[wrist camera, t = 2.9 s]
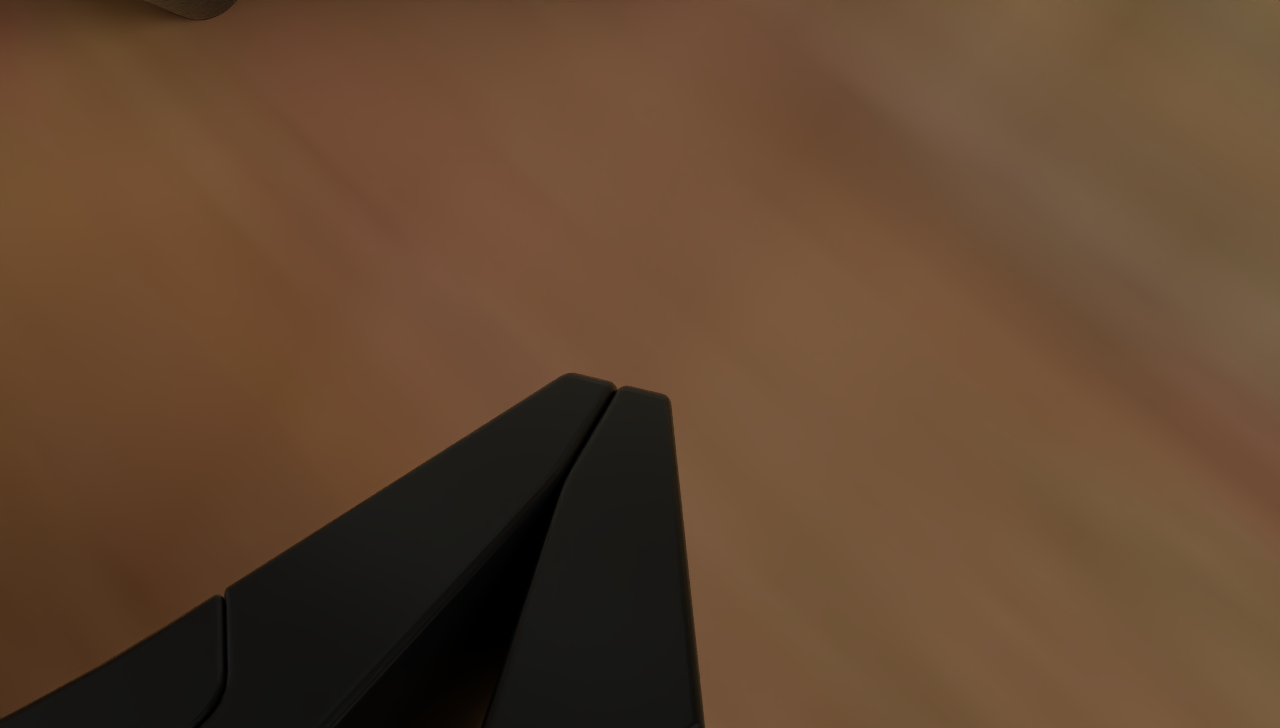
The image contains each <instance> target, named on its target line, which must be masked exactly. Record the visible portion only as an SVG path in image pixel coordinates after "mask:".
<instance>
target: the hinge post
mask: <svg viewBox="0 0 1280 728" xmlns="http://www.w3.org/2000/svg"><path fill="white" fill-rule="evenodd" d="M144 1H146V2H149V3H151V4H154V5H156V6H159V7H161V8H163V9H166V10H168V11H171V12H173V13H175V14H178V15H180V16H183V17H185V18H189V19H195V20H202V19H208V18H212V17H215V16H217V15H219V14H221V13H223V12H224V11H225V10H227V9H228V8H229V7H230V6H232V5H233V4H234V3H235V1H236V0H144Z"/></svg>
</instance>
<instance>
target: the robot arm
mask: <svg viewBox="0 0 1280 728" xmlns="http://www.w3.org/2000/svg"><path fill="white" fill-rule="evenodd" d="M0 728H705V722H704V713H703V703H702V694H701V684H700V675H699V665H698V656H697V646H696V637H695V627H694V618H693V608H692V598H691V589H690V579H689V570H688V560H687V551H686V541H685V532H684V522H683V513H682V503H681V494H680V484H679V475H678V465H677V455H676V446H675V436H674V427H673V417H672V408H671V401H670V399H669V398H668V397H667V396H666V395H664V394H661V393H657V392H653V391H648V390H644V389H640V388H636V387H632V386H623V387H621V388H619V389H618V390H617V387H616V386H615V385H614V384H613V383H612V382H610V381H606V380H602V379H598V378H594V377H590V376H585V375H581V374H577V373H568V374H564V375H562V376H560V377H559V378H557V379H556V380H554V381H552V382H551V383H549V384H548V385H546V386H545V387H543V388H541V389H540V390H538V391H537V392H535V393H533V394H532V395H530V396H529V397H527V398H526V399H524V400H522V401H521V402H519V403H518V404H516V405H515V406H513V407H511V408H510V409H508V410H507V411H505V412H503V413H502V414H500V415H499V416H497V417H496V418H494V419H492V420H491V421H489V422H488V423H486V424H485V425H483V426H481V427H480V428H478V429H477V430H475V431H474V432H472V433H470V434H469V435H467V436H466V437H464V438H462V439H461V440H459V441H458V442H456V443H455V444H453V445H451V446H450V447H448V448H447V449H445V450H444V451H442V452H440V453H439V454H437V455H436V456H434V457H432V458H431V459H429V460H428V461H426V462H425V463H423V464H421V465H420V466H418V467H417V468H415V469H414V470H412V471H410V472H409V473H407V474H406V475H404V476H403V477H401V478H399V479H398V480H396V481H395V482H393V483H391V484H390V485H388V486H387V487H385V488H384V489H382V490H380V491H379V492H377V493H376V494H374V495H373V496H371V497H369V498H368V499H366V500H365V501H363V502H361V503H360V504H358V505H357V506H355V507H354V508H352V509H350V510H349V511H347V512H346V513H344V514H343V515H341V516H339V517H338V518H336V519H335V520H333V521H332V522H330V523H328V524H327V525H325V526H324V527H322V528H320V529H319V530H317V531H316V532H314V533H313V534H311V535H309V536H308V537H306V538H305V539H303V540H302V541H300V542H298V543H297V544H295V545H294V546H292V547H290V548H289V549H287V550H286V551H284V552H283V553H281V554H279V555H278V556H276V557H275V558H273V559H272V560H270V561H268V562H267V563H265V564H264V565H262V566H261V567H259V568H257V569H256V570H254V571H253V572H251V573H249V574H248V575H246V576H245V577H243V578H242V579H240V580H238V581H237V582H235V583H234V584H232V585H231V586H229V587H227V588H226V590H225V593H224V598H223V597H222V596H221V595H214V596H212V597H211V598H209V599H208V600H206V601H205V602H203V603H201V604H200V605H198V606H197V607H195V608H193V609H192V610H190V611H189V612H187V613H186V614H184V615H182V616H181V617H179V618H178V619H176V620H175V621H173V622H171V623H170V624H168V625H166V626H165V627H163V628H161V629H160V630H158V631H156V632H155V633H153V634H151V635H150V636H148V637H146V638H145V639H143V640H141V641H140V642H138V643H136V644H135V645H133V646H131V647H130V648H128V649H126V650H125V651H123V652H121V653H120V654H118V655H116V656H115V657H113V658H111V659H110V660H108V661H106V662H105V663H103V664H101V665H100V666H98V667H96V668H94V669H92V670H90V671H89V672H87V673H85V674H83V675H81V676H79V677H78V678H76V679H74V680H72V681H70V682H68V683H67V684H65V685H63V686H61V687H59V688H57V689H56V690H54V691H52V692H50V693H48V694H46V695H44V696H43V697H41V698H39V699H37V700H35V701H33V702H32V703H30V704H28V705H26V706H24V707H22V708H21V709H19V710H17V711H15V712H13V713H11V714H9V715H7V716H5V717H3V718H1V719H0Z"/></svg>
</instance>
